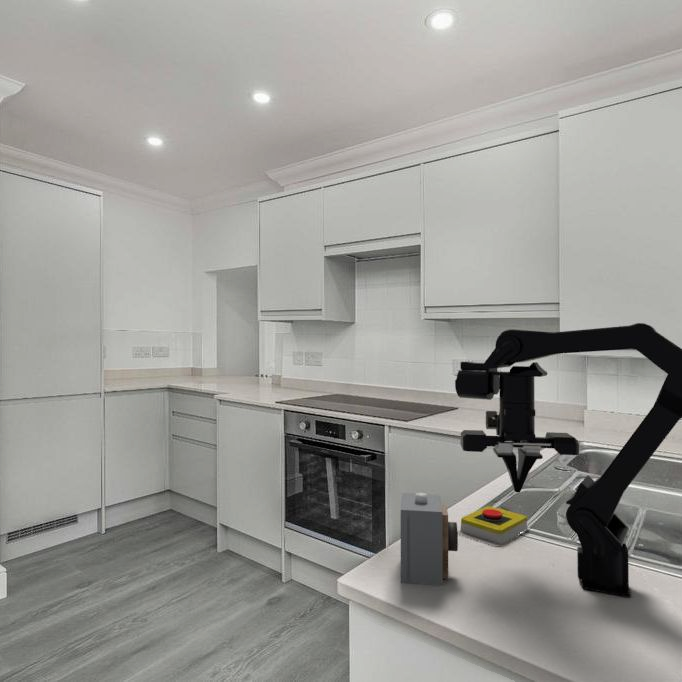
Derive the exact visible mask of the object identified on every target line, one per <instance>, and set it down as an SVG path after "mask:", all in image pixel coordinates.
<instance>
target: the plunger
mask: <svg viewBox="0 0 682 682" xmlns="http://www.w3.org/2000/svg"><path fill="white" fill-rule="evenodd" d="M441 505H442V512H443V579H449V552H458V547H459V545H458V544H459V543H458V542H459V541H458V540H459V539H458V537H459V535H458V532H457V531H458V524H457V522H455V521H449V512H448V506H447V504H441Z"/></svg>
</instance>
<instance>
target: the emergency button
mask: <svg viewBox="0 0 682 682" xmlns="http://www.w3.org/2000/svg"><path fill="white" fill-rule="evenodd" d="M460 522H461V523H460V529H459V530H457V532H458V534H459V535H458V536H460V535H462V536H461V537H463V536H465V537H464V538H466V537H467V538H466V539H469V538H470V540H472V539H473V541H475V540H477V541H476V542H478V541H480V542H479V543H481V542H483V543H482V544H484V543H485V545H487V544H488V545H487V546H490V545H491V547H493V546H494V547H495V548H499V546H500V547H501V545H502V546H503V545H505V544H507V543H508V541H509V542H510V541H512V540H514V539H515V537H516V536H517V537H519V536H518V534H520V532H522V531H524V530H525V529H527V528H528V527H527V524H528V518H527V516H526V515H525V514H520V513H516V512H512V511H509V510H506V509H502V508H498V507H494V506H490V505H489V506H488V505H487V506H484V507H482V508H480V509H478V510H476V511H473V512H471V513H469V514H467V515H464V516H462V517H461V519H460ZM517 537H516V538H517ZM513 538H514V539H513ZM511 539H512V540H511Z"/></svg>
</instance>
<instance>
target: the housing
mask: <svg viewBox="0 0 682 682" xmlns="http://www.w3.org/2000/svg"><path fill="white" fill-rule="evenodd" d="M401 493H402V495H401V501H400V583H405V584H418V585H430V586H431V585H432V586H433V585H434V586H443V585H444V584H443V583H444V581H443V580H444V578H443V512H442V505H443V504H442V500H441V494H433V493H432V494H430V493H424V492H416V493H409V492H401Z"/></svg>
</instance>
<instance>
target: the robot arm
mask: <svg viewBox="0 0 682 682" xmlns="http://www.w3.org/2000/svg"><path fill="white" fill-rule="evenodd" d="M620 350H621V351H622V350H636V351H637V352H639V353H640V354H642V355H643V356H644V357H645V358H646V359H647V360H649V361H650V362H651V363H653V364H654V365H655V366H657V367H658V368H659V369H661V371H663V372H664V373H666V374H667V375H666V377H665V379H664V381H663V384H662V386H661V388H660V391H659V392H658V394H657V398H656V400H655V402H654V404H653V406H652V407H651V409H650V410H649V411H648V413H647V414H646V416H644V418H643V420H642V421H641V422H640V424H638V427H636V429H635V430H634V432H633V433H632V435H631V436H630V438H629V439H628V440H626V441H627V442H626V443H625V444H624V445H623V447H622V448H621V449H620V450H619V452H618V453H617V455H616V456H615V458H613V460H612V461H611V463H610V465H608V466H607V469H605V470H604V472H603V473H602V474H601V475H600V476H599V477H597V479H595V480H594V479H593V478H592V477H591V476H590V475H586V476H585V477H584V478H583V479H582V481H580V483H579V485H578V487H577V488H576V491H575V492H574V493H572V495H571V496H570V497H569V498H568V499H567V500H566V501H565V504H566V505H569V506H568V507H567V509H566V512H565V518H566V520H567V524H568V525H569V528H570V529H571V530H572V531H573V532H574V533H575V534H576V535H577V538H578V540H579V544H580V545H581V546H578V547H577V548H576V549H577V550H576V551H577V554H576V555H577V557H576V558H577V563H576V564H577V578H578V579H579V580H581V587H582V589H584V590H589V591H594V592H600V593H604V594H605V593H606V594H612V595H617V596H621V597H628V598H630V597H632V592H631V589H630V586H629V581H630V580H629V577H630V576H629V575H630V574H629V568H630V566H629V565H630V564H629V549H628V547H627V544H626V543H625V540H626V538H627V535H628V532H629V527H628V525H626V523H625V522H624V521H623V519H621V518H620V517H619V516H618V515H617V514H616V511H617V508H618V506H619V504H620V502H621V499H622V498H623V495H624V493H625V492H626V490H627V489H628V487H629V486H630V484H631V483H632V482H633V481H634V479H635V478H636V477H637V476H638V474H639V473H640V471H642V469H643V468H644V467H645V465H646V464H647V462H648V461H649V460H650V458H651V457H652V456H653V454H654V453H655V452H656V451H657V449H658V448H659V447H660V446H661V444H662V443H663V442H664V440H665V439H666V438H667V436H668V435H669V433H671V431H672V430H673V429H674V427H675V426H676V425H677V423H678V422H679V421H680V420H681V419H682V348H681V347H679V346H678V345H677V344H675V343H674V342H672V341H671V340H669V339H668V338H667V337H665V336H663V335H662V334H660V333H659V332H657V330H656V328H655V327H654V326H651V325H649V324H647V323H643V322H637V323H633V324H630V325H619V326H611V327H599V328H588V329H587V328H586V329H578V330H577V329H576V330H565V331H555V332H554V331H539V330H538V331H537V330H524V329H506V330H503V331H502V332H501V333H500V334H499V336H497V339H496V341H495V348H494V349H493V350H492V352H491V354H490V355H489V356H488V357H487V358H486V359H485V362H473V361H460V368H459V370H457V371H458V372H457V374H456V378H455V380H454V386H455V391H456V394H457V397H459V398H461V399H475V400H492V399H493V398H494V397H495V395H498V394H499V412H497V411H496V410H486V412H485V428H486V430H495V433H496V434H495V435H487V434H486V433H485V432H484V430H483V429H482V430H479V429H477V430H476V429H463V430H462V431H461V432H460V446H461V449H462V451H464V452H476V453H478V452H479V453H483V452H484V451H486V449H487V448H488V447H493V448H492V450H493V453H494V454H495V455H496V457H497V458H501V459H502V460H503V463H504V464H505V467H506V470H507V473H508V476H509V479H510V482H511V486H512V488H513V491H514V493H521V492H522V491H521V490H522V489H523V487H524V484H525V482H526V480H527V478H528V475H529V473H530V471H531V469H532V468H533V466H534V464H535V463H536V461H537V460H542V459H543V458H544V457H543V454H542V453H541V451H542V449H554V450H555V451H556V452H557V453H558V454H559V455H561V456H563V455H564V456H578V455H580V445H579V444H580V443H579V440H578V439H577V438H576V437H574V436H572V435H571V434H569V433H567V432H553V431H552V432H550V431H549V432H545V436H536V433H535V428H536V427H535V420H536V419H535V417H536V409H535V404H536V403H535V378H537V377H538V378H539V377H546V376H547V375H548V372H547V370H545V369H544V368H543V367H542V366H540V364H539V363H538V361H537V362H532V361H535V360H539V359H543V358H544V359H545V358H547V357H550V356H555V355H560V354H561V355H562V354H571V353H573V354H574V353H592V352H605V351H606V352H607V351H620ZM526 362H532V363H531V364H530V365H529V366H525V365H524V366H523V365H522V366H520V365H519V366H518V365H514V364H517V363H526ZM510 367H511V368H510ZM502 368H510V369H509V371H499V369H502ZM514 448H517V454H518V457H517V456H516V455H517V454H515V453H514V451H513V450H514ZM517 459H518V461H517Z"/></svg>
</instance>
